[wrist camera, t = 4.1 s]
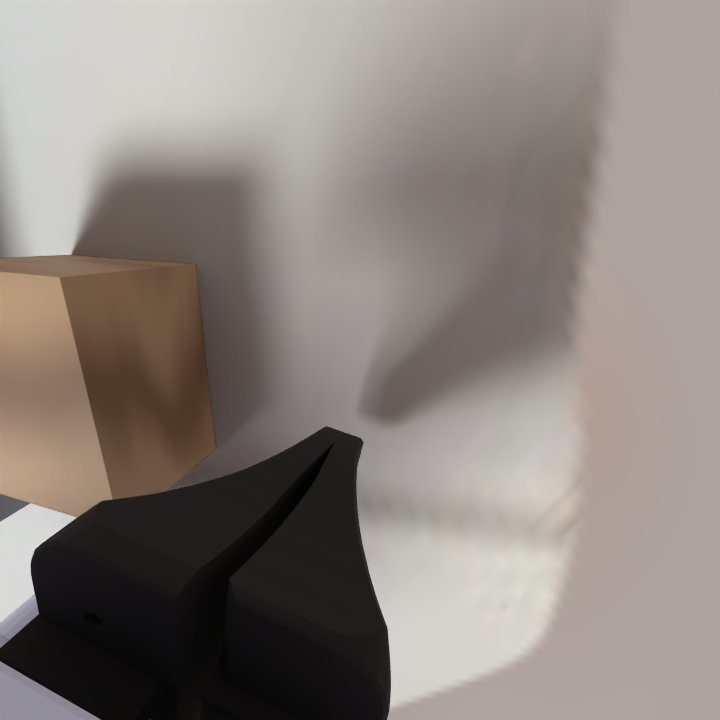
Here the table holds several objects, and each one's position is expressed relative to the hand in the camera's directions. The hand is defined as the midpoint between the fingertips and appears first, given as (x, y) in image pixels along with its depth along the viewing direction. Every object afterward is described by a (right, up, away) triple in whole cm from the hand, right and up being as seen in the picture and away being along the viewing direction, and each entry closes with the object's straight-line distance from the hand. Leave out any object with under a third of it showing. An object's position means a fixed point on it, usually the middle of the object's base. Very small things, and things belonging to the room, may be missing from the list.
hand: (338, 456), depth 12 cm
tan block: (-8, +3, +4) cm, 10 cm away
